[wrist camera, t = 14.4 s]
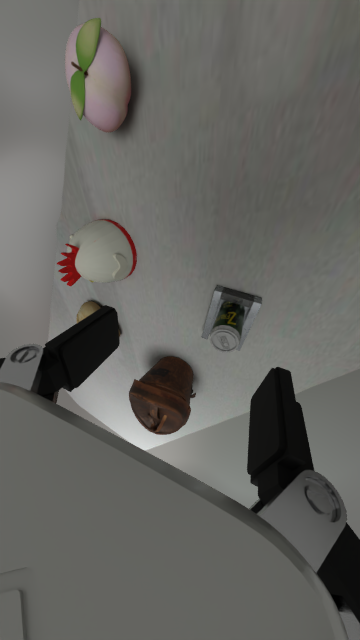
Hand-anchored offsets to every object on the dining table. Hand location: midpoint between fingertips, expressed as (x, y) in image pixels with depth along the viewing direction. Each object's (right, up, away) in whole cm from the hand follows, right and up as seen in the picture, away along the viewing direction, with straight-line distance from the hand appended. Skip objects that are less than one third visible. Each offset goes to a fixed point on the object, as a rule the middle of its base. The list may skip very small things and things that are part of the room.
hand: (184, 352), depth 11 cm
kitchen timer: (-17, +19, +34) cm, 43 cm away
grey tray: (+11, +3, +32) cm, 34 cm away
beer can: (+12, +4, +30) cm, 33 cm away
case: (-1, -15, +49) cm, 52 cm away
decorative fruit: (-10, +38, +19) cm, 43 cm away
